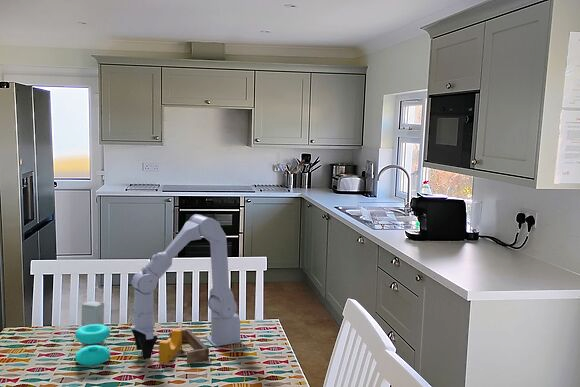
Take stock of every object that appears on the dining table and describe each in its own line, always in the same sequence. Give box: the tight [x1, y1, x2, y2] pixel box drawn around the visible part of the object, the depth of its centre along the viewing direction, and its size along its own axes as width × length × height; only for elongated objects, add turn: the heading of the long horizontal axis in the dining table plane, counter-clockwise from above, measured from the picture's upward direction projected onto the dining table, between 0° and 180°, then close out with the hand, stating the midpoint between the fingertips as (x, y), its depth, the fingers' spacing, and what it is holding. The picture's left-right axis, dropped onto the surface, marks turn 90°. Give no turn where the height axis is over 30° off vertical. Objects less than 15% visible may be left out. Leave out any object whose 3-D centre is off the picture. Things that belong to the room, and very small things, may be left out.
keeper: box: [168, 328, 210, 364], centre depth 176 cm, size 7×19×4 cm, turn 29°
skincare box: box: [80, 300, 105, 327], centre depth 183 cm, size 6×4×12 cm
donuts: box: [74, 324, 111, 367], centre depth 166 cm, size 10×10×10 cm
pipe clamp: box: [158, 328, 183, 364], centre depth 172 cm, size 12×4×6 cm, turn 170°
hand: (143, 353), depth 169 cm, fingers open, 7 cm apart
